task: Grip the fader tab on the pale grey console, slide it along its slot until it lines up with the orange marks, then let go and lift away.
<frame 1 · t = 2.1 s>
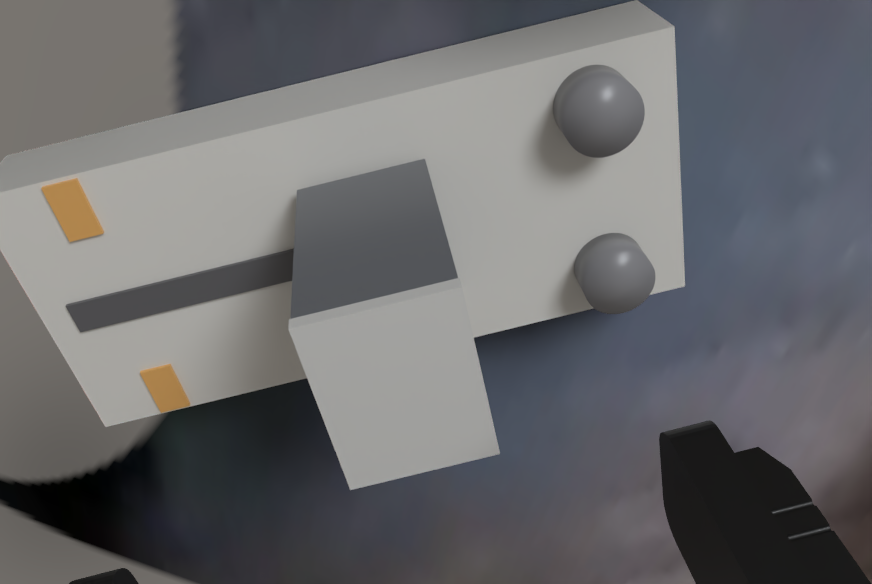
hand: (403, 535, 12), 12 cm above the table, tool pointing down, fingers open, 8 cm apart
console: (356, 201, 22), on the table
fader tab: (390, 312, 17), point 6 cm above the table, slide at 0.0 cm
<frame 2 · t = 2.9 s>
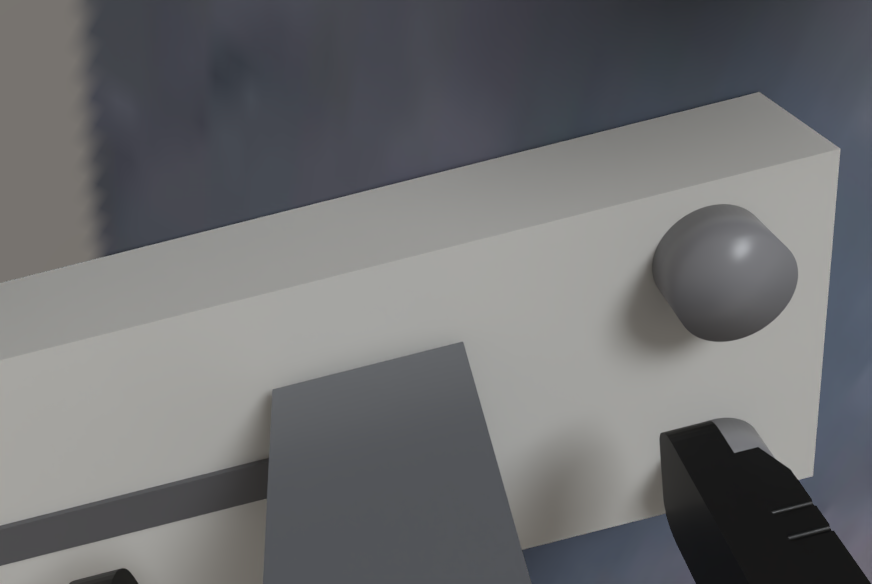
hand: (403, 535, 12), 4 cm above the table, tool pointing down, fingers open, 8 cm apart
console: (358, 361, 16), on the table
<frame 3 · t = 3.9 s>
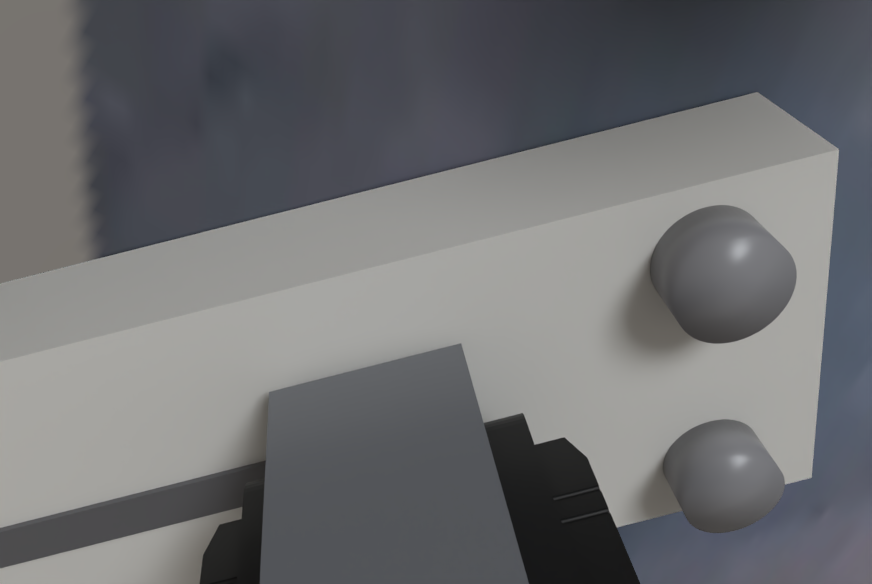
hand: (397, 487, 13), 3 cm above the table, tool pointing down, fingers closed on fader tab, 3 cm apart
console: (355, 363, 16), on the table
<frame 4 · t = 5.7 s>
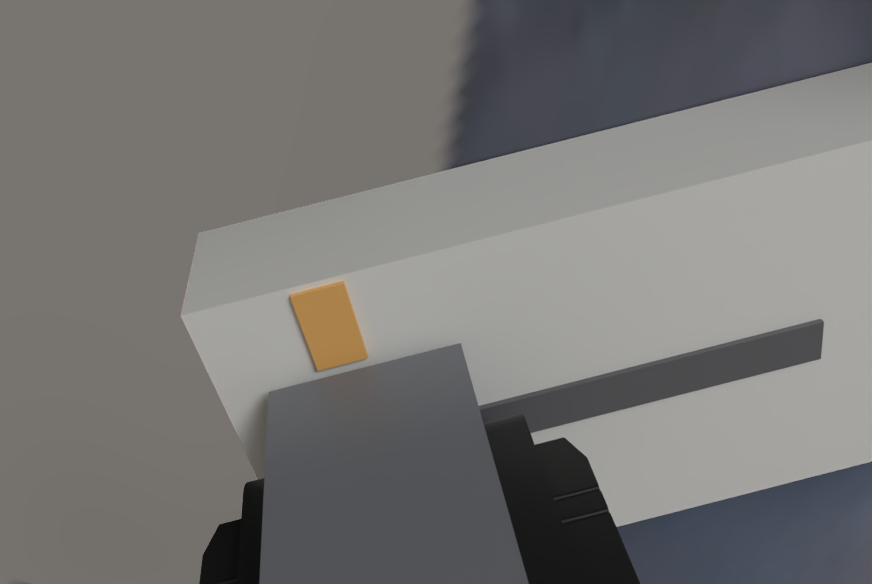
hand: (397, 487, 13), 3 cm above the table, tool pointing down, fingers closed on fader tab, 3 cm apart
console: (663, 284, 16), on the table
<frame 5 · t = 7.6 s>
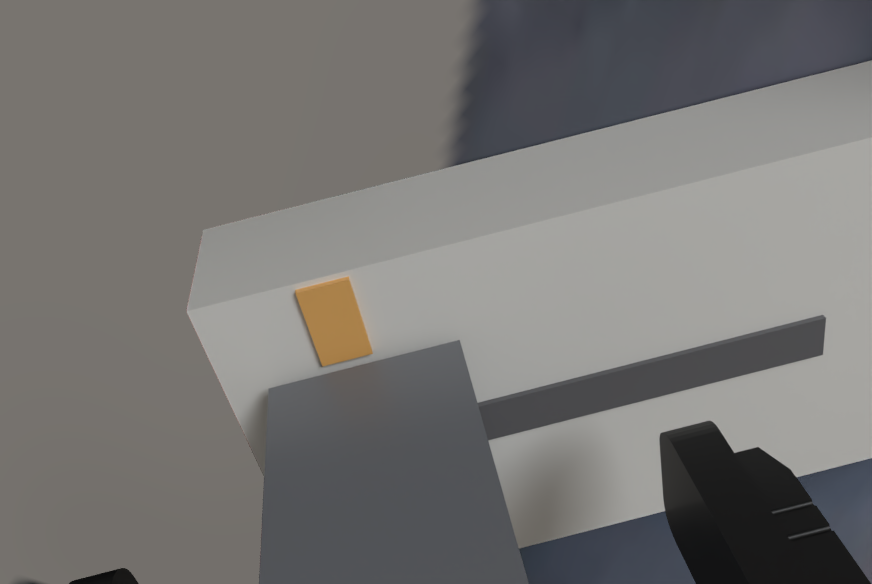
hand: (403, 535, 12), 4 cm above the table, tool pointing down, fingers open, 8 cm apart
console: (665, 281, 16), on the table
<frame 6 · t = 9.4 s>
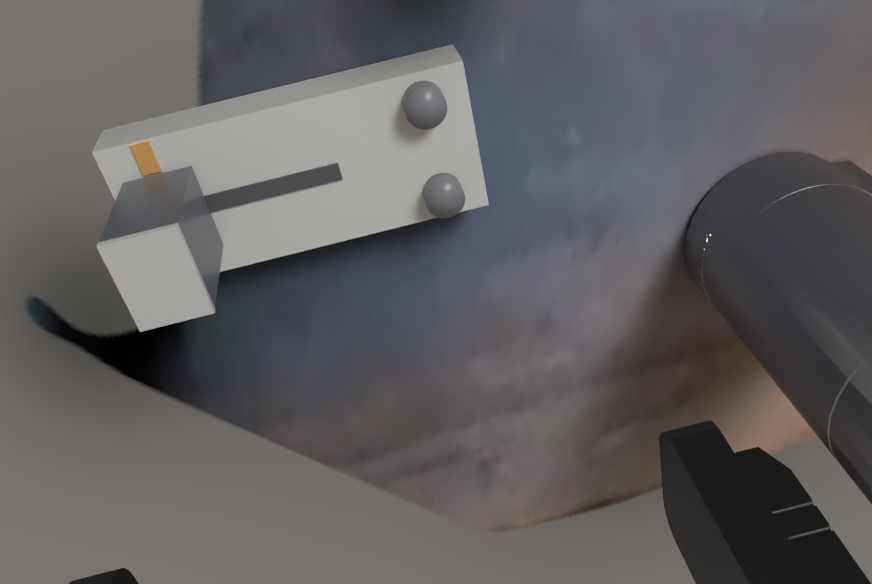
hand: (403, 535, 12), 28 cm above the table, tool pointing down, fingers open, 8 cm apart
console: (301, 157, 38), on the table
fader tab: (166, 245, 33), point 6 cm above the table, slide at 6.3 cm
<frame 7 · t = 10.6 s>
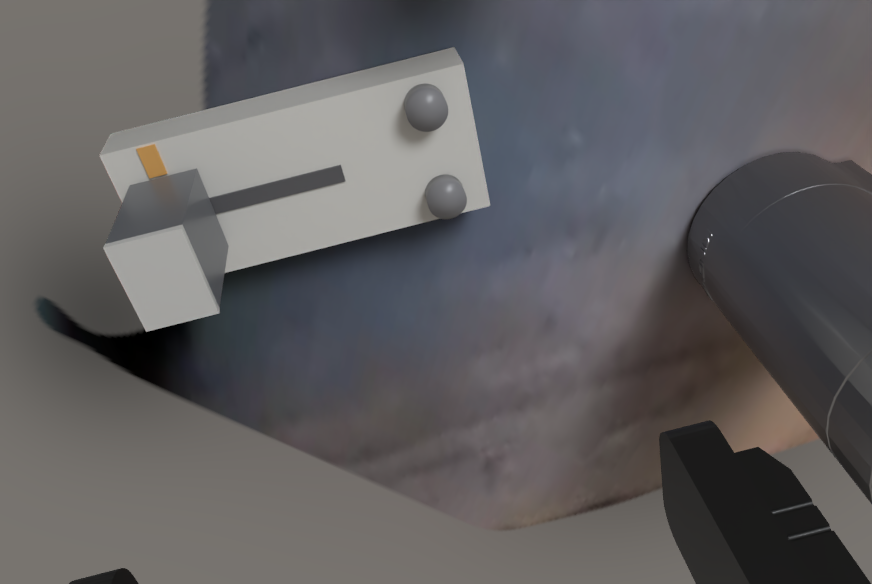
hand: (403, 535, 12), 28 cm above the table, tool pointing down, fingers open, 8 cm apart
console: (305, 159, 38), on the table
fader tab: (172, 246, 34), point 6 cm above the table, slide at 6.3 cm
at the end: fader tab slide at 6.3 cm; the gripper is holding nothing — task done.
